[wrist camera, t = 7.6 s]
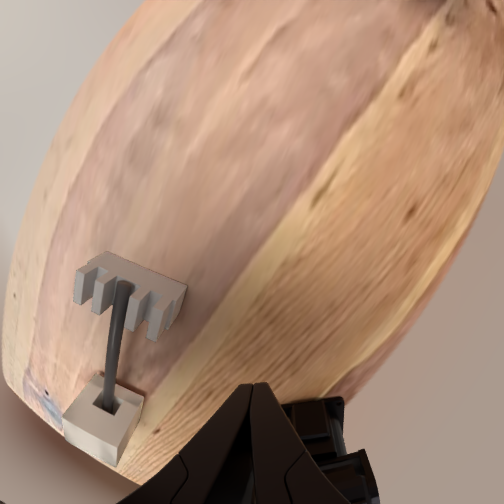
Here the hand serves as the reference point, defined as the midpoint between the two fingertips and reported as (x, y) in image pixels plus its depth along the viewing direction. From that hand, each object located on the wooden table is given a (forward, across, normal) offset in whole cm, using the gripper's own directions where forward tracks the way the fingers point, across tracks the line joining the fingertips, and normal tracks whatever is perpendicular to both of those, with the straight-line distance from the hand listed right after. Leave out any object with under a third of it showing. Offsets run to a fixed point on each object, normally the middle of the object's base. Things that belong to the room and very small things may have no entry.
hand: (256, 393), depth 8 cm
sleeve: (+12, +16, +11) cm, 23 cm away
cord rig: (+12, +14, +7) cm, 20 cm away
